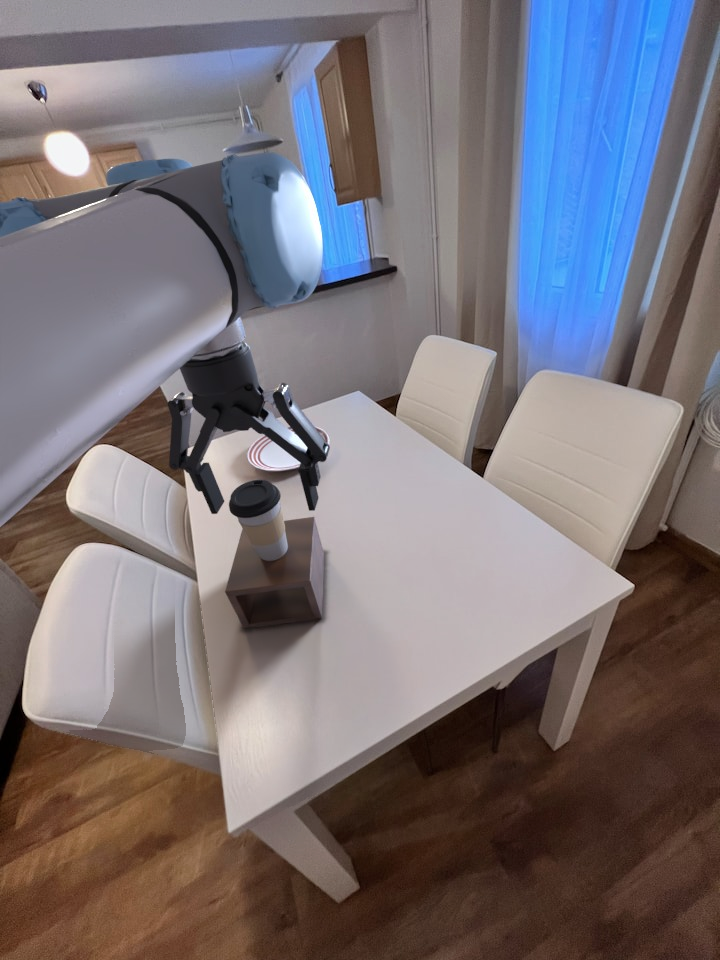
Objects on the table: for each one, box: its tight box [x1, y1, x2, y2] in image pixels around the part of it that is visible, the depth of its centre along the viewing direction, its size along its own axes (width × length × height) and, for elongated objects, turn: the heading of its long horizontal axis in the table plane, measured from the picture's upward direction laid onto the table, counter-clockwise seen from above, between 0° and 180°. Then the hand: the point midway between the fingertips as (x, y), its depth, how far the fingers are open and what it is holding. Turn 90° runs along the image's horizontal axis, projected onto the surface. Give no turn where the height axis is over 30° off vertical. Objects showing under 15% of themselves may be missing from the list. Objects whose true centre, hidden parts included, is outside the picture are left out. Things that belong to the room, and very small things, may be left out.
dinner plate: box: [246, 425, 330, 472], centre depth 134 cm, size 28×27×3 cm
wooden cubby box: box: [224, 516, 325, 629], centre depth 84 cm, size 18×16×12 cm
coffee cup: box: [228, 479, 288, 561], centre depth 77 cm, size 9×9×15 cm
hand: (265, 506), depth 54 cm, fingers open, 13 cm apart
